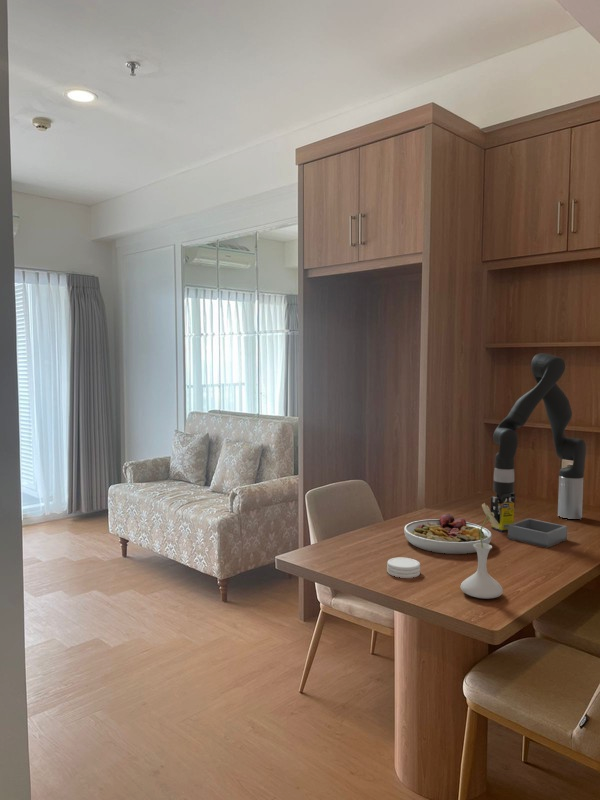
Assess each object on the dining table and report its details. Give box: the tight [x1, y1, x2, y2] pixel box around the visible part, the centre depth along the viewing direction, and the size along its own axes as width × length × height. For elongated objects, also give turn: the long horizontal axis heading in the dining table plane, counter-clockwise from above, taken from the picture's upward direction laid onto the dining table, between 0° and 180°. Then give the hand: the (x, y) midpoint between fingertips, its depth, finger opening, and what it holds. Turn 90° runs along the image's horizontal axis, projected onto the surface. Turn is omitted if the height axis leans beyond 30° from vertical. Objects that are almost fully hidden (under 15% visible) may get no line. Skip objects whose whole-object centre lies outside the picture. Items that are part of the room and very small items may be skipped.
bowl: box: [403, 513, 492, 555], centre depth 217 cm, size 30×30×8 cm
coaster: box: [386, 556, 421, 579], centre depth 186 cm, size 10×10×4 cm
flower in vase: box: [460, 502, 504, 600], centre depth 169 cm, size 13×11×25 cm
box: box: [507, 517, 568, 549], centre depth 222 cm, size 15×15×5 cm
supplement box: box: [490, 502, 515, 533], centre depth 235 cm, size 6×6×11 cm
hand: (502, 521), depth 235 cm, fingers open, 8 cm apart
